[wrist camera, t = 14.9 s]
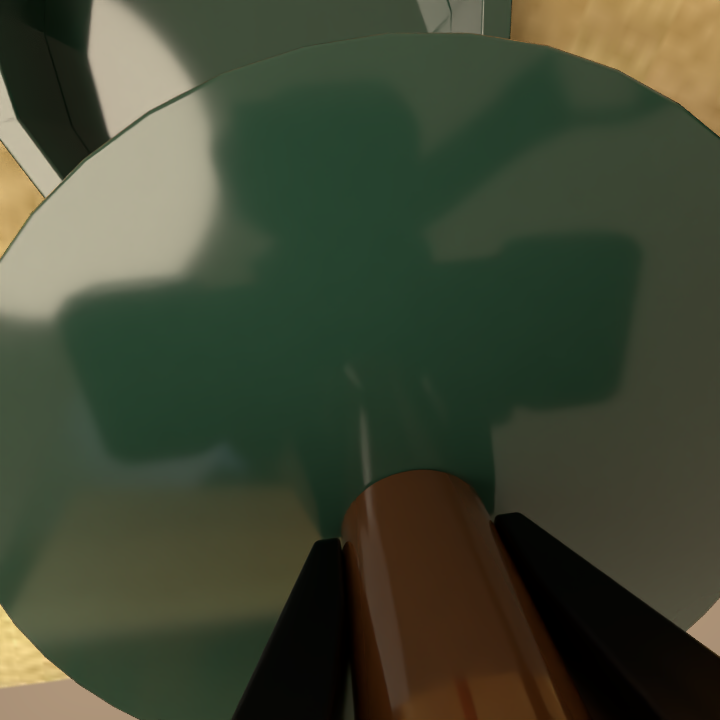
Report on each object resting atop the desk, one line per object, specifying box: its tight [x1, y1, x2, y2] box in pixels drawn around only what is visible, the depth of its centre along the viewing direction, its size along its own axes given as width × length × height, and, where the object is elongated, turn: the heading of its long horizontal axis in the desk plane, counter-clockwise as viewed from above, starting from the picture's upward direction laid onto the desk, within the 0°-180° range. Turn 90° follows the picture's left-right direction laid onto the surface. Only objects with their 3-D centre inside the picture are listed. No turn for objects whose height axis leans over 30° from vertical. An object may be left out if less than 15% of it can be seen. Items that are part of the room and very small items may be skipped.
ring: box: [0, 0, 512, 198], centre depth 13 cm, size 14×14×3 cm
